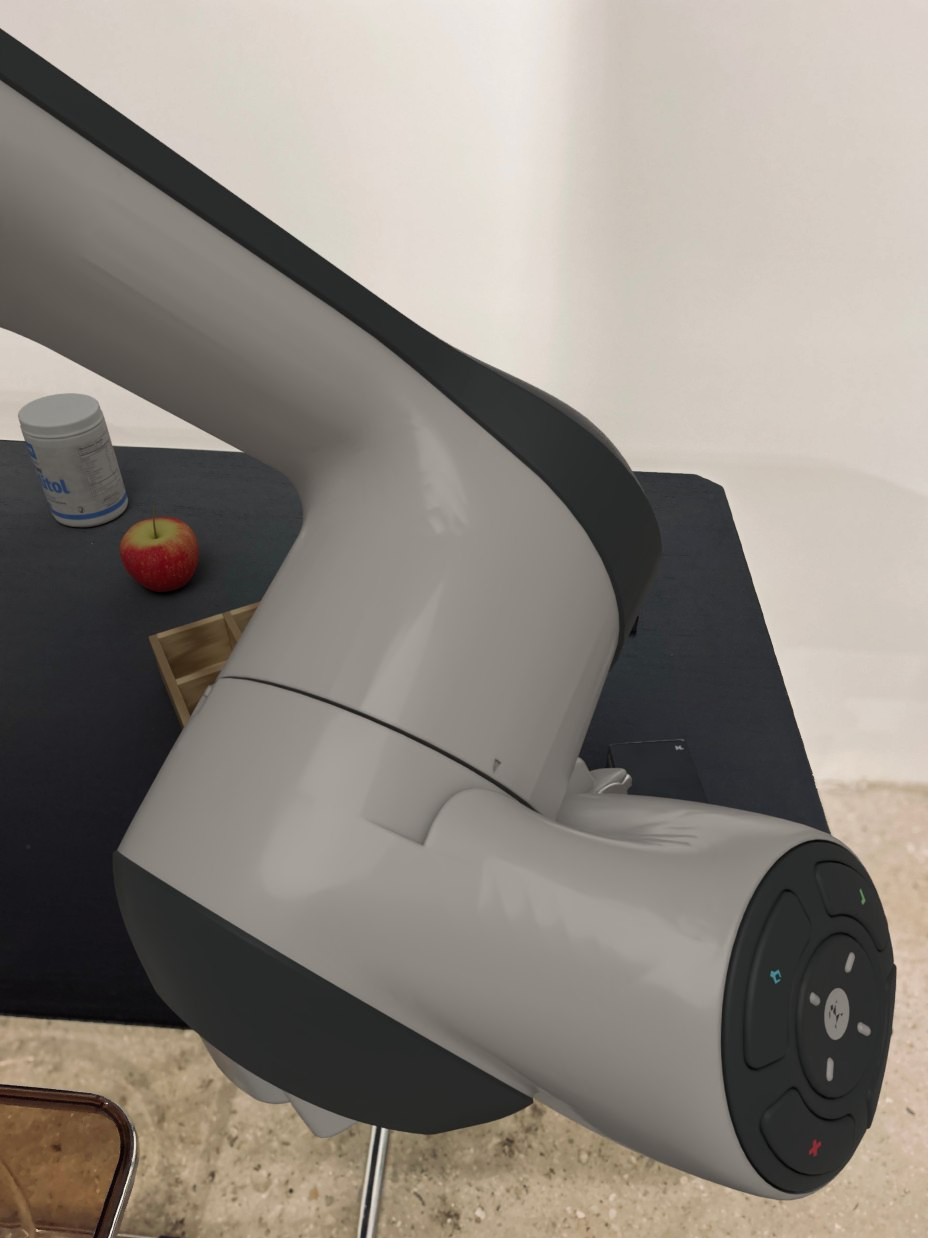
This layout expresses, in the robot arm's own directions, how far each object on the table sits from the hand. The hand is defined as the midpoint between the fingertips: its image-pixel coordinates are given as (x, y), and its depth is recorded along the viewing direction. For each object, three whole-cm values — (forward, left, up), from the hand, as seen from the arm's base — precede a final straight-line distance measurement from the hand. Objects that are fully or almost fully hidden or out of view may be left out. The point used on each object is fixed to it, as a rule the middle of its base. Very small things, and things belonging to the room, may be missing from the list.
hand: (353, 874), depth 42 cm
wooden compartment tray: (+3, +34, -19) cm, 39 cm away
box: (+24, 0, -19) cm, 31 cm away
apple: (0, +58, -19) cm, 61 cm away
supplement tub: (-5, +79, -19) cm, 82 cm away
